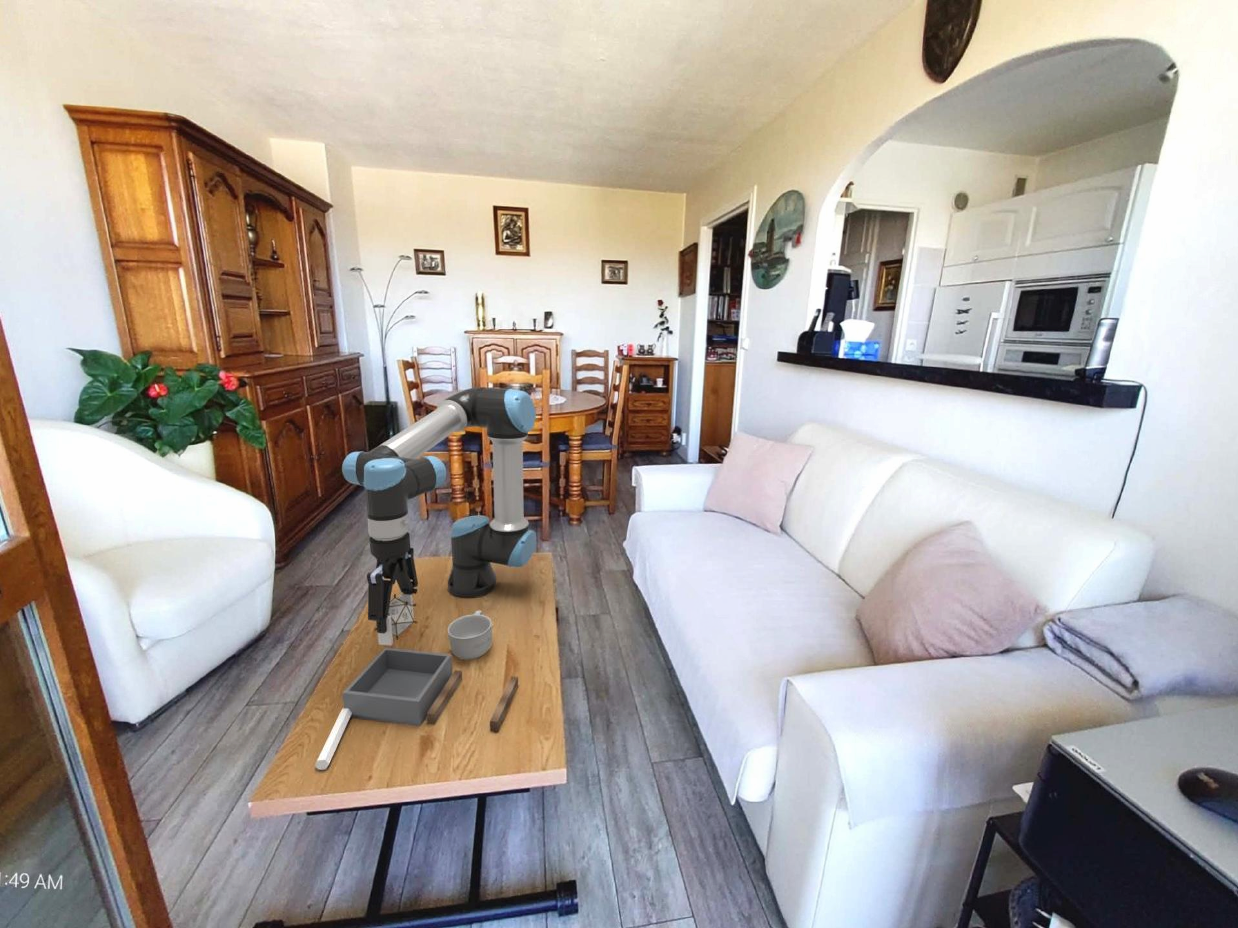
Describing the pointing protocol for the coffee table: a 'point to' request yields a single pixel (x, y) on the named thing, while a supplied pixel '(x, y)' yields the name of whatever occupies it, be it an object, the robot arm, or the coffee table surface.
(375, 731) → the coffee table surface
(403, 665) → the bin
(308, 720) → the coffee table surface
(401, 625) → the game die
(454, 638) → the teacup
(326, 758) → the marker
